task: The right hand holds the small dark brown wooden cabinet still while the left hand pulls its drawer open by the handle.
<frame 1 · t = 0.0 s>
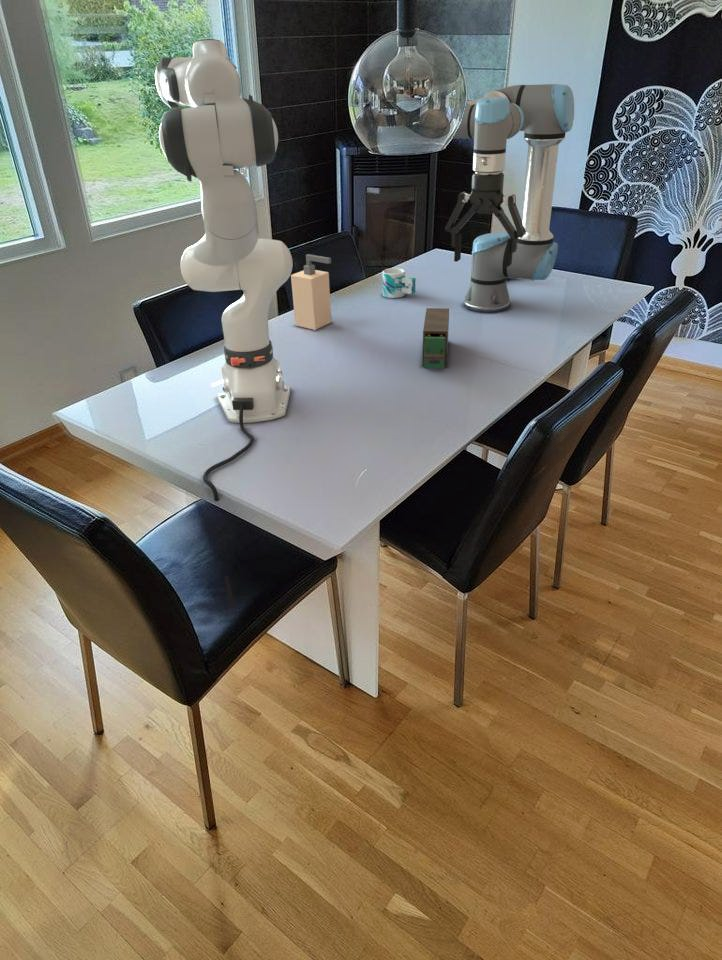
left hand: (226, 177, 174), 48 cm above the table, tool pointing down, fingers open, 8 cm apart
right hand: (482, 262, 171), 28 cm above the table, tool pointing down, fingers open, 13 cm apart
jawbone: (501, 278, 253), on the table
soap dispenser: (318, 325, 217), on the table
mug: (398, 295, 240), on the table
drawer: (435, 344, 186), point 5 cm above the table, slide at 1.8 cm
cabinet: (435, 353, 194), on the table
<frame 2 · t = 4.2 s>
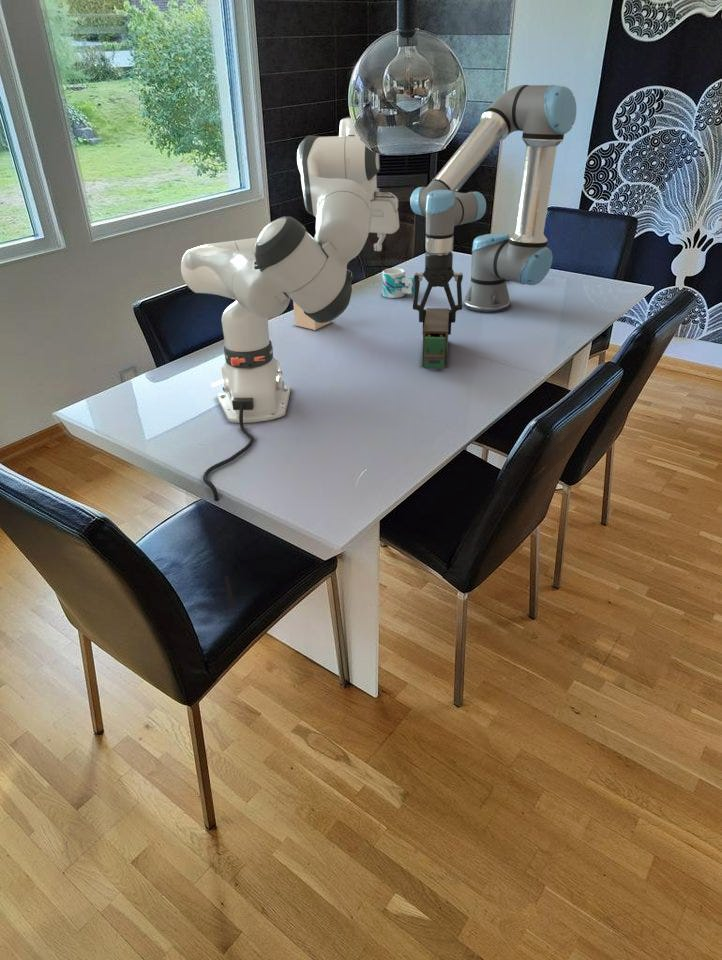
left hand: (361, 249, 171), 32 cm above the table, tool pointing down, fingers open, 8 cm apart
right hand: (436, 332, 195), 5 cm above the table, tool pointing down, fingers closed on cabinet, 7 cm apart
cabinet: (435, 353, 194), on the table, touching right hand
everything else where it was.
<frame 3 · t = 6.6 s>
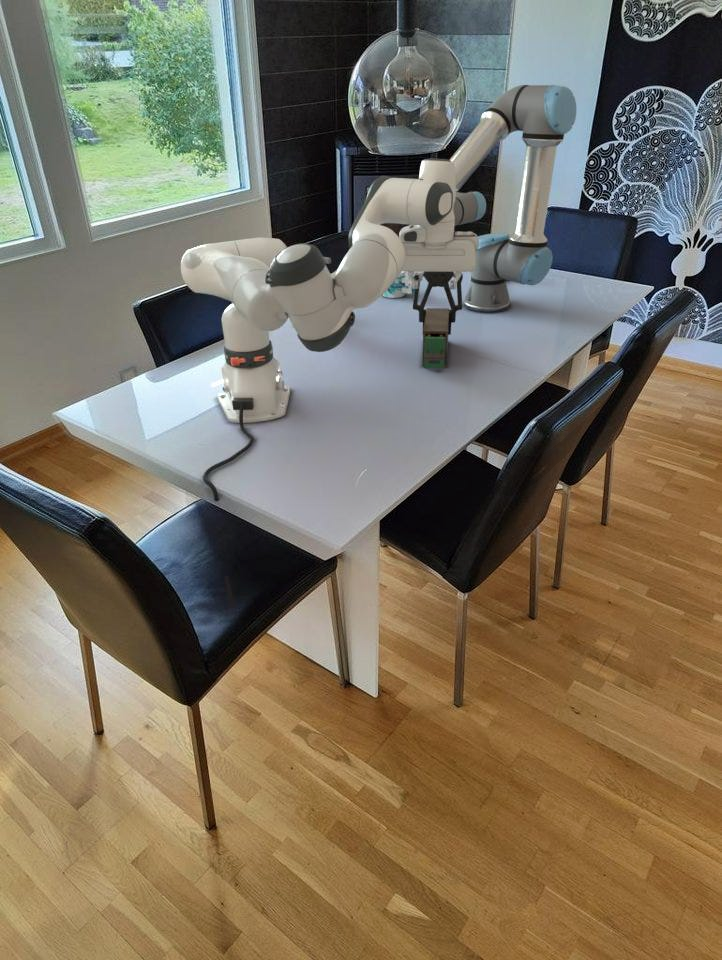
left hand: (434, 288, 169), 23 cm above the table, tool pointing down, fingers open, 8 cm apart
right hand: (436, 332, 195), 5 cm above the table, tool pointing down, fingers closed on cabinet, 7 cm apart
cabinet: (435, 353, 194), on the table, touching right hand
everything else where it was.
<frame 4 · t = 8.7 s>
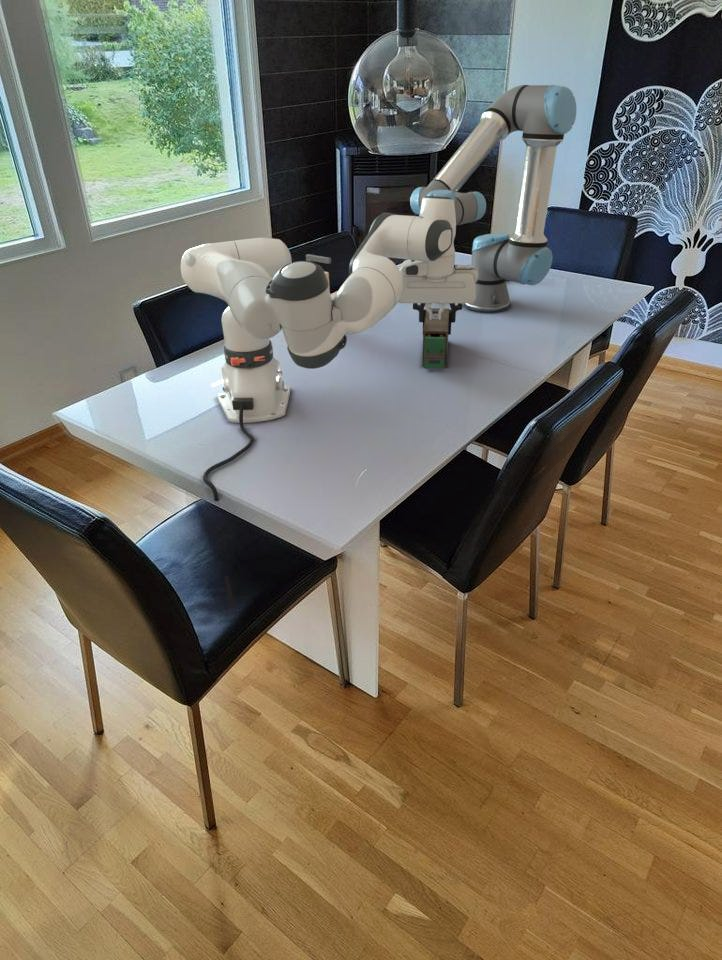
left hand: (435, 319, 173), 16 cm above the table, tool pointing down, fingers closed
right hand: (436, 332, 195), 5 cm above the table, tool pointing down, fingers closed on cabinet, 7 cm apart
cabinet: (435, 353, 194), on the table, touching right hand
everything else where it was.
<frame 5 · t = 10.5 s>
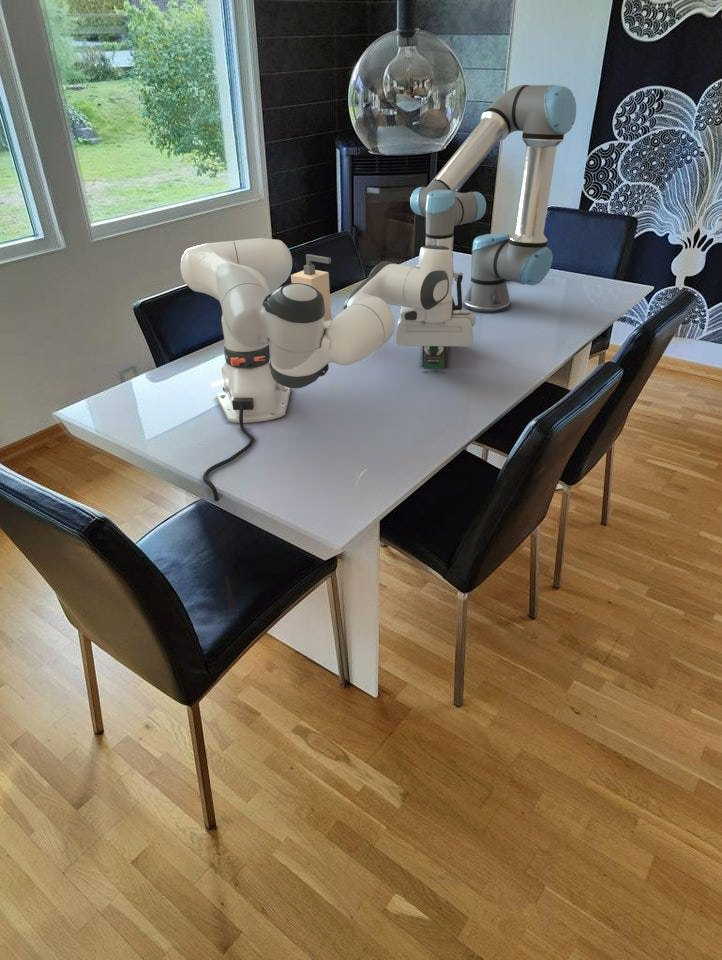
left hand: (433, 360, 178), 5 cm above the table, tool pointing down, fingers closed, pressing on drawer
right hand: (436, 332, 195), 5 cm above the table, tool pointing down, fingers closed on cabinet, 7 cm apart
drawer: (435, 345, 185), point 5 cm above the table, slide at 2.4 cm, touching left hand
cabinet: (435, 353, 194), on the table, touching right hand
everything else where it was.
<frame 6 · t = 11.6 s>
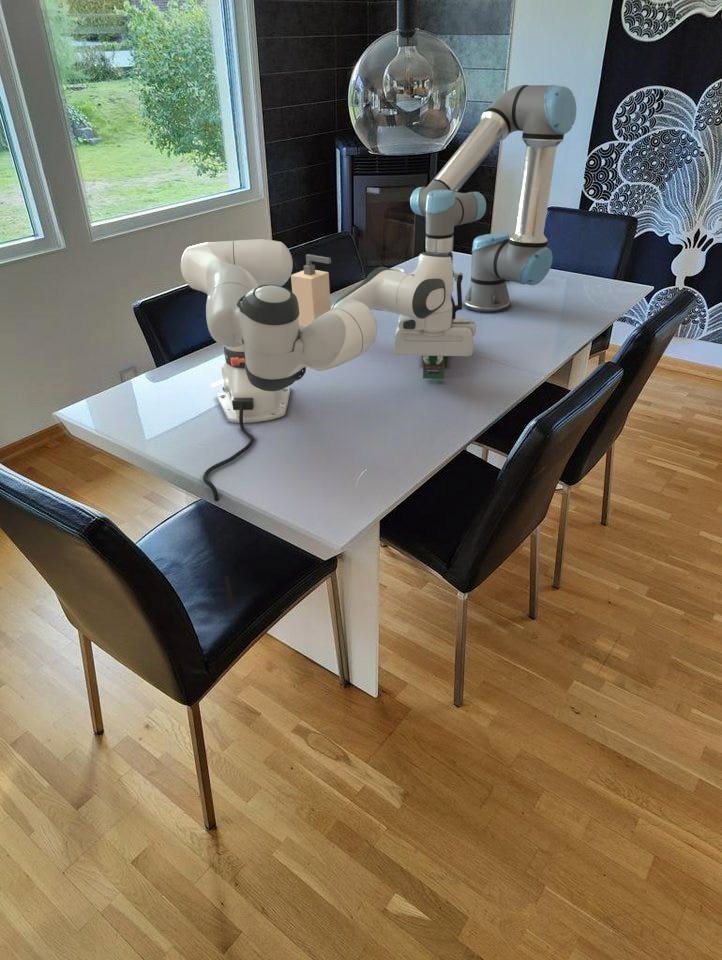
left hand: (432, 370, 173), 5 cm above the table, tool pointing down, fingers closed, pressing on drawer
right hand: (436, 332, 195), 5 cm above the table, tool pointing down, fingers closed on cabinet, 7 cm apart
drawer: (434, 354, 180), point 5 cm above the table, slide at 8.7 cm, touching left hand
cabinet: (435, 353, 194), on the table, touching right hand
everything else where it was.
when the right hand's fingers open (5 cm above the table, at t = 13.4 s): cabinet stays where it is, on the table.
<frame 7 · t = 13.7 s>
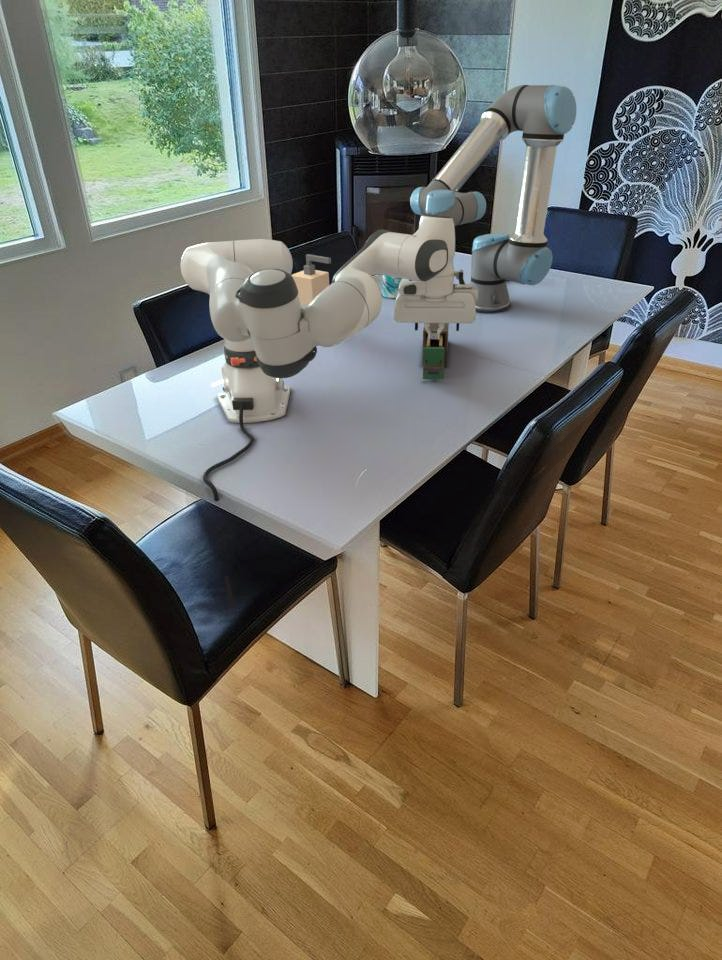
left hand: (433, 338, 169), 13 cm above the table, tool pointing down, fingers closed
right hand: (436, 329, 195), 6 cm above the table, tool pointing down, fingers open, 11 cm apart
drawer: (434, 354, 180), point 5 cm above the table, slide at 9.0 cm
cabinet: (435, 353, 194), on the table
everything else where it was.
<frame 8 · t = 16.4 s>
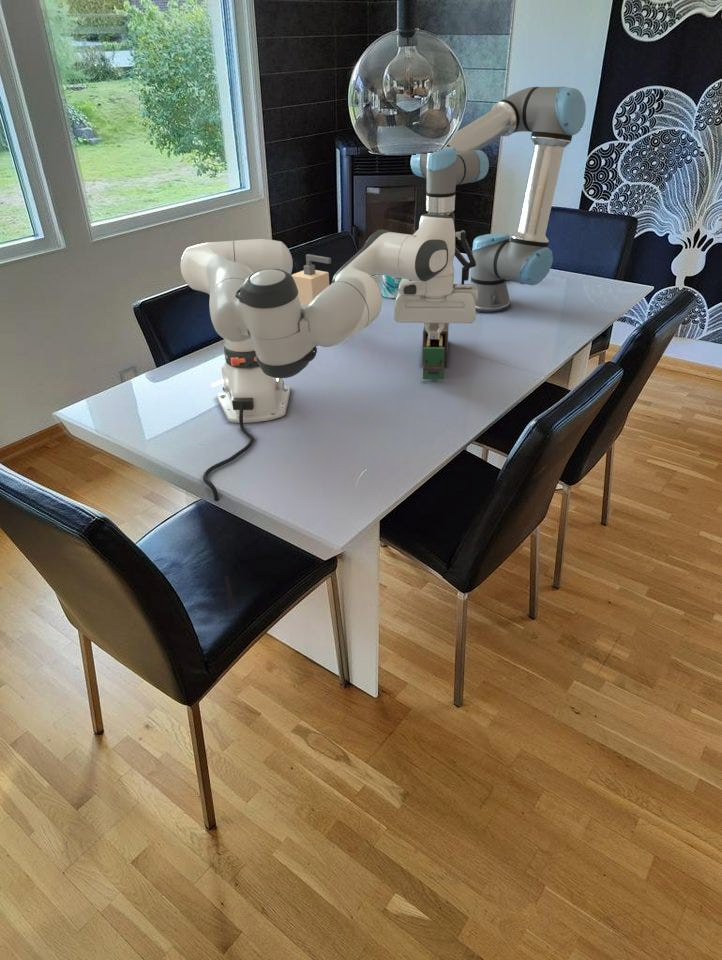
left hand: (433, 338, 169), 13 cm above the table, tool pointing down, fingers closed
right hand: (437, 291, 189), 17 cm above the table, tool pointing down, fingers open, 13 cm apart
nothing on the table moved.
at the end: drawer slide at 9.0 cm; cabinet tilted 0°; cabinet never tilted more than 1° during the clip; cabinet moved 0.0 cm from its start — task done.
